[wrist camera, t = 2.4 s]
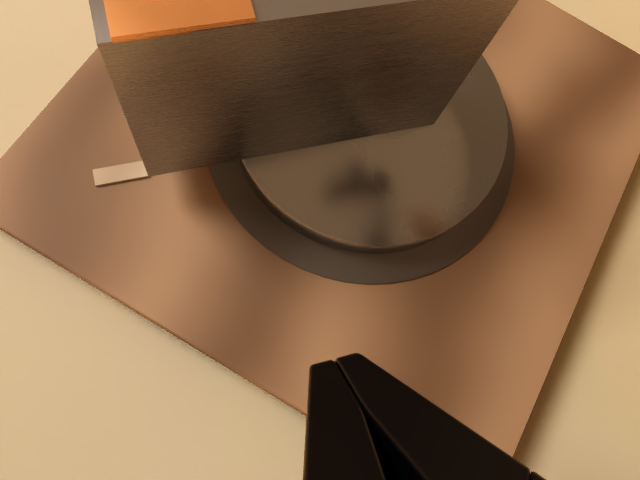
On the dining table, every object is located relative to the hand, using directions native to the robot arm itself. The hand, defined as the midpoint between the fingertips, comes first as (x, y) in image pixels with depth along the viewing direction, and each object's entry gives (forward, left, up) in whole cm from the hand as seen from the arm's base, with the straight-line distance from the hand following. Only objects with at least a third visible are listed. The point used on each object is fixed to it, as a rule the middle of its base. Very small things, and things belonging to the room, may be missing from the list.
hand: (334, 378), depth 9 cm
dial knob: (+4, -9, -9) cm, 13 cm away
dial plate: (+2, -10, -11) cm, 15 cm away
